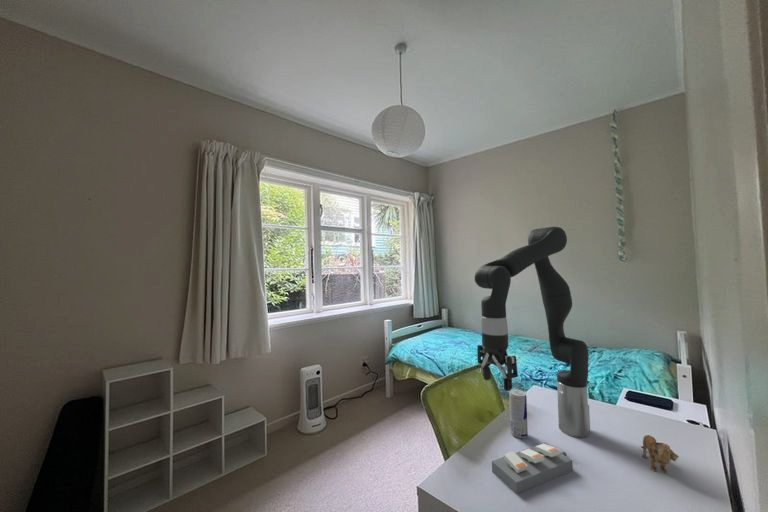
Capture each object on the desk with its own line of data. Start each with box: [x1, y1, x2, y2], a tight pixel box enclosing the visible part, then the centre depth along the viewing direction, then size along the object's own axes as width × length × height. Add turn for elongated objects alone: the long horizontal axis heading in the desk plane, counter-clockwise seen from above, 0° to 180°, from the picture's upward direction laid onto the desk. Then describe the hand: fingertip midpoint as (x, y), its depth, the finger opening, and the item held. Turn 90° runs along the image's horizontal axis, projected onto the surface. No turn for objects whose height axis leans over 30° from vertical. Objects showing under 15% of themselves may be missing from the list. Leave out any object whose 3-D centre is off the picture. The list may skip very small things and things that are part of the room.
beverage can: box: [508, 388, 529, 439], centre depth 102 cm, size 6×6×15 cm
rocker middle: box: [520, 448, 544, 463], centre depth 84 cm, size 4×5×2 cm
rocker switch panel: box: [491, 442, 574, 495], centre depth 85 cm, size 25×9×3 cm, turn 112°
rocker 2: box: [535, 443, 561, 457], centre depth 87 cm, size 4×5×2 cm
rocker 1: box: [503, 450, 528, 473], centre depth 82 cm, size 4×5×2 cm
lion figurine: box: [640, 434, 680, 473], centre depth 86 cm, size 15×5×9 cm, turn 163°
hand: (496, 384), depth 87 cm, fingers open, 8 cm apart
